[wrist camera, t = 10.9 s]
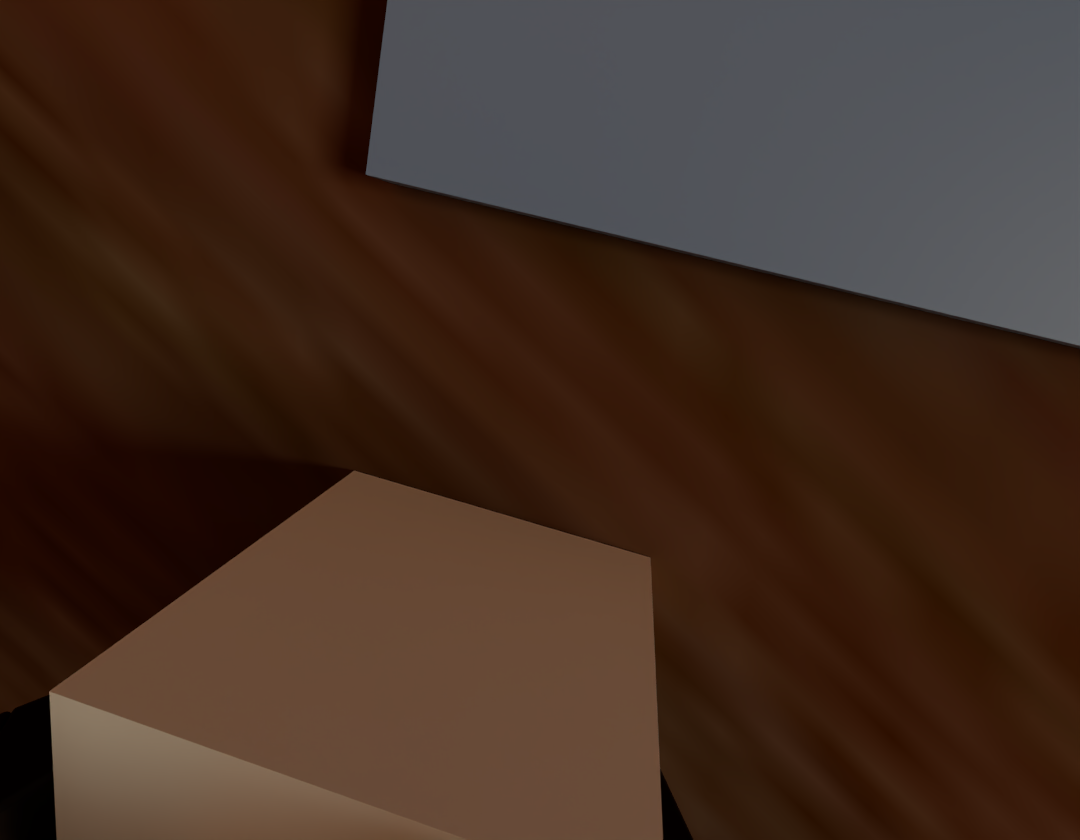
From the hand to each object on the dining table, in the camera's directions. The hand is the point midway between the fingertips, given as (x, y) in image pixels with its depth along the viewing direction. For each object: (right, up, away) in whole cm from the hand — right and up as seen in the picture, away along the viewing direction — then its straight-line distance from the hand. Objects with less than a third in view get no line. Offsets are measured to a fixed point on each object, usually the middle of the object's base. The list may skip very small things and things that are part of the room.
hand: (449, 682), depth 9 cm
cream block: (0, 0, +1) cm, 1 cm away
